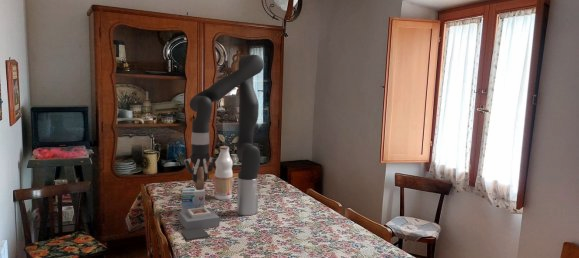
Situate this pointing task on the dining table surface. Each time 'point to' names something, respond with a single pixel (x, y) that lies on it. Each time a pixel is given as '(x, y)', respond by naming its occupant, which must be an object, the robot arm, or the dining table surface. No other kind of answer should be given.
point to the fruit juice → (223, 175)
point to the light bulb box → (192, 198)
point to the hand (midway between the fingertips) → (199, 181)
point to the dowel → (200, 178)
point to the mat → (195, 234)
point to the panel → (198, 218)
